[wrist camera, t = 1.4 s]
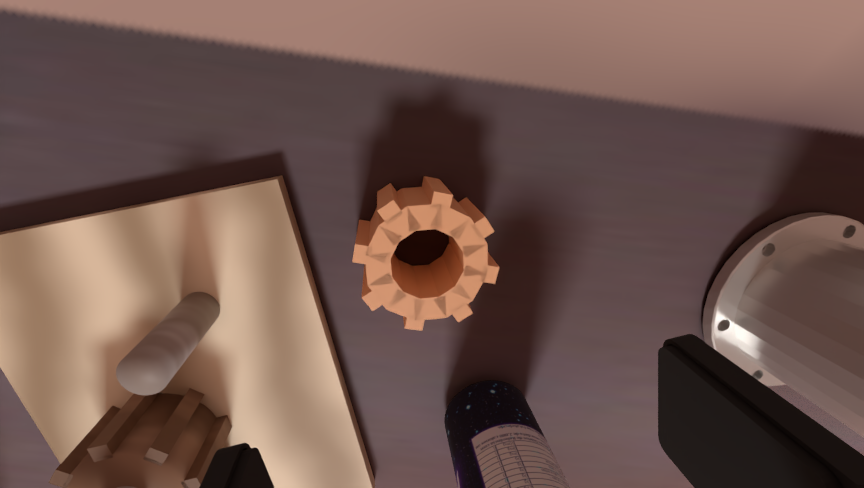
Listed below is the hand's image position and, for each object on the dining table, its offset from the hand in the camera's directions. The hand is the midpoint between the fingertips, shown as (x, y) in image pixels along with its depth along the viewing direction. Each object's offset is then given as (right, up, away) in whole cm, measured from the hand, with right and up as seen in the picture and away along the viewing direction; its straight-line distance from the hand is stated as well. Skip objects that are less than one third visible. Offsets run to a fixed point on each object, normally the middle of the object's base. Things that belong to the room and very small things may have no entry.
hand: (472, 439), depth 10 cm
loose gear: (-2, +5, +15) cm, 16 cm away
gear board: (-15, -4, +16) cm, 22 cm away
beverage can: (+3, -7, +20) cm, 21 cm away
